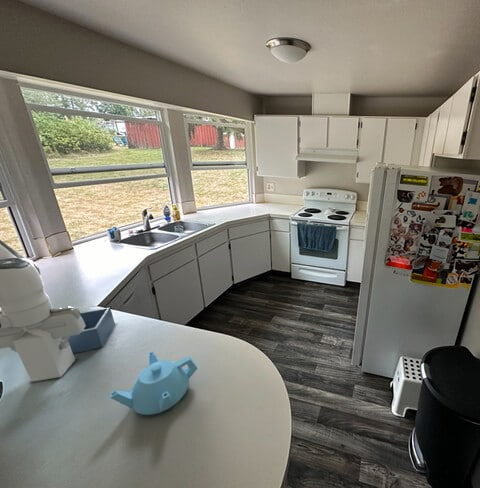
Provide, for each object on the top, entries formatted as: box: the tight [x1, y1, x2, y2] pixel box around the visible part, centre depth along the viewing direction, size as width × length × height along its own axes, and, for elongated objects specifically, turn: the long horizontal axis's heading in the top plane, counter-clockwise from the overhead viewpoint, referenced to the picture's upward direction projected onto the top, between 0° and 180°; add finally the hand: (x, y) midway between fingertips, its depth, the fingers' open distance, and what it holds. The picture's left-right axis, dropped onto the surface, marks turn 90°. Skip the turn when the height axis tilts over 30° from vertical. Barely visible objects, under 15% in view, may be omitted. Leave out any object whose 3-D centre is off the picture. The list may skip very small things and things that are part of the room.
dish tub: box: [68, 307, 116, 354], centre depth 90 cm, size 14×14×8 cm
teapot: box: [109, 351, 198, 416], centre depth 70 cm, size 15×15×11 cm
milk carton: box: [13, 327, 76, 382], centre depth 75 cm, size 7×7×19 cm
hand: (46, 351), depth 76 cm, fingers closed on milk carton, 7 cm apart
